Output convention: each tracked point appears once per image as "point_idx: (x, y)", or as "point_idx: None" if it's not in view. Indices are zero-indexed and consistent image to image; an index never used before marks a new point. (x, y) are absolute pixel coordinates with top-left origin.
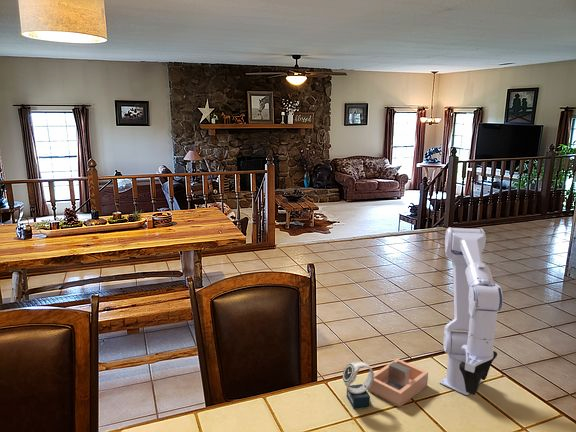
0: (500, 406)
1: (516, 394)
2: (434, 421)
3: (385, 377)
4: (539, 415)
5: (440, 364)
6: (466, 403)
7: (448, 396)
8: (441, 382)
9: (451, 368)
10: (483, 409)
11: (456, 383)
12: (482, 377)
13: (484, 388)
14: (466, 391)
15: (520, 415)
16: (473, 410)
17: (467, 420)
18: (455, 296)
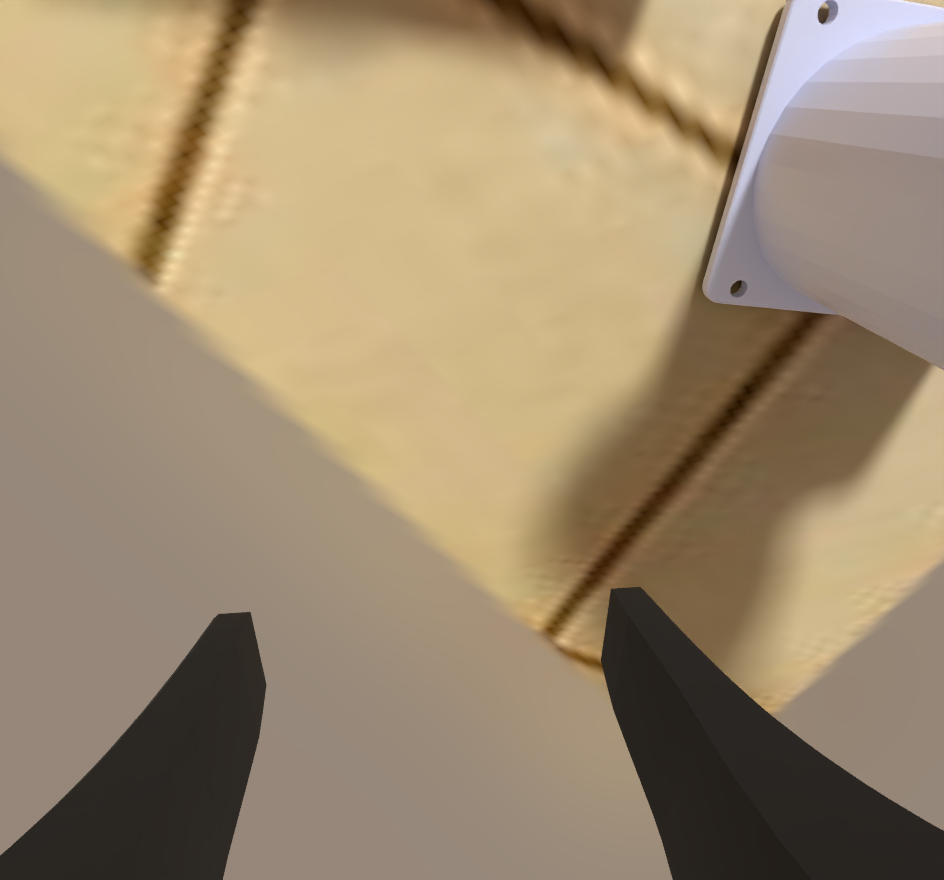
0: (689, 507)
1: (878, 537)
2: (164, 200)
3: None
4: None
5: None
6: (594, 324)
7: (611, 160)
8: (795, 9)
9: (916, 125)
10: (590, 440)
11: (779, 194)
12: (612, 661)
13: (874, 364)
14: (213, 622)
15: None
16: (535, 393)
17: (385, 400)
18: None
